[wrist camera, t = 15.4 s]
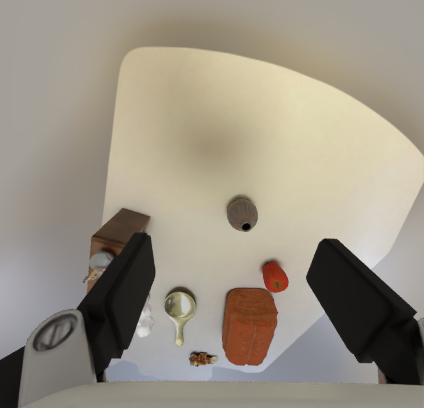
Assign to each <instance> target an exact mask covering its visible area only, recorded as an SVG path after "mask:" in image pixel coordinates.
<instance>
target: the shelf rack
mask: <svg viewBox="0 0 424 408" xmlns="http://www.w3.org/2000/svg"><path fill="white" fill-rule="evenodd" d="M149 220H150V216H147V215H144V214H140V213H137V212H134V211H131V210H127V209H124V208H122V209H121V210H120V211H119V212H118V213H117V214H116V215H115V216H114V217H112V218H111V219H110V220H109V221H108V222H107V223H106V224H105V225H104V226H103V227H102V228H101V229H100V230H99V231H97V232H96V233H95V234H94V235H93V236H92V237H91V238H92V239H91V250H90V259H91V257H92V256H93V255H95V253H96V252H97V251H100V250H101V251H106V252H108V253H110V254H112V255H113V257H114V258H115V257H117V256H118V255H119V254H120V252H121V251H122V249H123V248H124V247H125V245H126V244H127V242H128V241H129V240H130V238H131V237H132V235H133V234H134V233H135V232H143V229H144V227H145V226H146V224H147V223H148V221H149ZM93 271H94V270H93V269H92V268H91V267H90V264H89V275H88V278H89V276H90V275H91V273H92V272H93ZM99 276H100V275H98V276H97V277H96V276H95V277H96V279H94V278H95V277H91V279H90V280H88V287H87V294H88V292H89V291H90V290H91V288H92V287H93V286H94V284H95V283H96V281H97V280H98V279H99V278H98V277H99ZM92 279H94V280H92Z"/></svg>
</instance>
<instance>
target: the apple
mask: <svg viewBox="0 0 424 408" xmlns="http://www.w3.org/2000/svg"><path fill="white" fill-rule="evenodd" d="M263 279H264V283H265V286H266V288H267V289H268V290H269V291H271V292H275V293H276V292H281V291H284V290H285V289H286V288H287V287H288V282H289V281H288V277H287V276H286V274H285V272H284V271H283V270H282V269H281V268H280V267H279V266H278V265H277V264H276V263H274V262H271V263H268V264H266V265H265V266H264V268H263Z"/></svg>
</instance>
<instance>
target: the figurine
mask: <svg viewBox="0 0 424 408" xmlns="http://www.w3.org/2000/svg"><path fill="white" fill-rule="evenodd" d="M113 259H114V257H113V255H112V254H110V253H108V252H106V251H101V250H100V251H97V252H96V253H95V255H93V256H92V257H91V259H90V263H89V264H90V267H91V268H92V269H93V270H94V271H93V272H92V273H91V275H90V276H89V278H88V277H86V278H85V279H84V281H83V282H84V283H85V282H87V281H88V280H90V279H91V277H95V276H96V277H97V276H98V275H100V276H101V275H102V273H103V272H104V271H105V269H106V268H107V266H108V265H109V264H110V262H111V261H112V260H113ZM100 276H99V277H100ZM96 277H95V278H94V279H96ZM99 277H98V278H99ZM87 278H88V279H87ZM94 279H92V280H94Z"/></svg>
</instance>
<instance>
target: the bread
mask: <svg viewBox="0 0 424 408" xmlns="http://www.w3.org/2000/svg"><path fill="white" fill-rule="evenodd" d="M277 314H278V312H277V309H276V306H275V304H274V299H273V297H272V296H271V295H270V293H269V292H268V291H266V290H263V289H249V288H238V289H234V290H232V291H231V292H230V294H229V295H228V297H227V301H226V308H225V315H224V324H223V333H222V342H223V349H224V351H225V356H226V357H227V359H228V360H229V361H230V362H231V363H233V364H235V365H245V364H248V365H255V366H258V365H259V364H261V363H262V362H263V360H264V358H265V357H266V356H267V352H268V349H269V346H270V343H271V341H272V339H273V335H274V331H275V328H276V326H277Z"/></svg>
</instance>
